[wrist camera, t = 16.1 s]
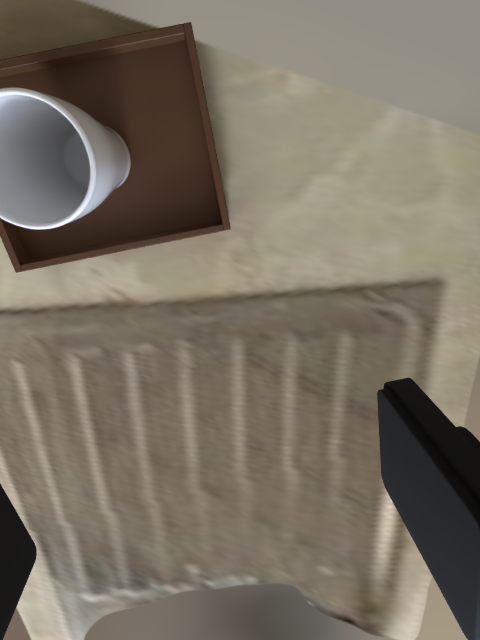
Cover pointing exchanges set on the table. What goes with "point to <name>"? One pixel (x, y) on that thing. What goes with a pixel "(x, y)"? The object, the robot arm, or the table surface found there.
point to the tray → (130, 144)
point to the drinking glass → (54, 160)
